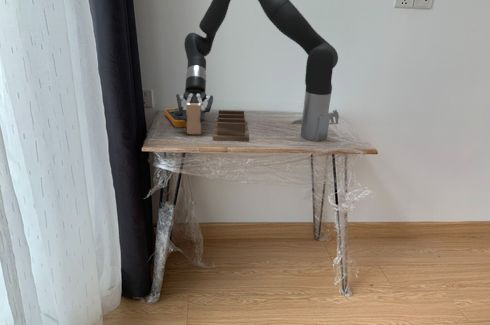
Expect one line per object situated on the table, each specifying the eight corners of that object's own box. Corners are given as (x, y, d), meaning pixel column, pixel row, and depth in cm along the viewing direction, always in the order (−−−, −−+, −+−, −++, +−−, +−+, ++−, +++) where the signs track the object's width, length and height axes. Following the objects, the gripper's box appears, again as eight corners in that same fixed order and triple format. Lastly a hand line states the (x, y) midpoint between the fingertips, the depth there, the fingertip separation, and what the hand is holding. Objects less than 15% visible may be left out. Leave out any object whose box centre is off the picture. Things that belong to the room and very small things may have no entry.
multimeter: (175, 129, 139) (174, 120, 138) (164, 115, 154) (163, 107, 153) (196, 127, 143) (196, 118, 141) (183, 114, 157) (183, 106, 156)
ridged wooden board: (215, 123, 147) (215, 108, 144) (247, 124, 148) (247, 109, 145) (212, 140, 130) (213, 124, 127) (249, 141, 130) (249, 125, 128)
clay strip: (187, 131, 135) (186, 103, 131) (201, 132, 136) (200, 103, 131) (187, 133, 133) (186, 104, 129) (200, 134, 133) (200, 105, 129)
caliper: (336, 123, 155) (339, 109, 152) (337, 124, 154) (339, 109, 151) (290, 123, 152) (291, 108, 150) (291, 124, 151) (292, 109, 149)
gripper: (175, 74, 133) (172, 116, 127) (214, 75, 133) (213, 117, 127) (177, 85, 140) (174, 125, 134) (215, 86, 140) (213, 126, 134)
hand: (193, 121), depth 131 cm, fingers closed on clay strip, 5 cm apart
